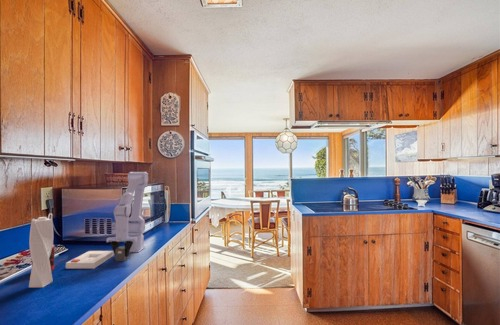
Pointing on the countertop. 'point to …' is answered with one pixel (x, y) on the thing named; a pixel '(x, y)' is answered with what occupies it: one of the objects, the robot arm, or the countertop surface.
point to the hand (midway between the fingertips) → (121, 256)
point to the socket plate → (90, 259)
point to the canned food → (51, 257)
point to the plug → (120, 254)
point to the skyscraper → (41, 251)
